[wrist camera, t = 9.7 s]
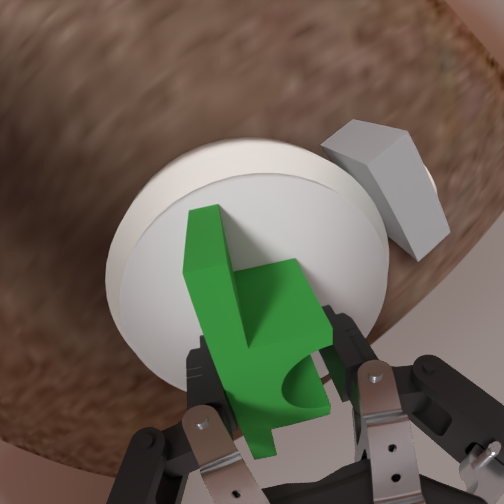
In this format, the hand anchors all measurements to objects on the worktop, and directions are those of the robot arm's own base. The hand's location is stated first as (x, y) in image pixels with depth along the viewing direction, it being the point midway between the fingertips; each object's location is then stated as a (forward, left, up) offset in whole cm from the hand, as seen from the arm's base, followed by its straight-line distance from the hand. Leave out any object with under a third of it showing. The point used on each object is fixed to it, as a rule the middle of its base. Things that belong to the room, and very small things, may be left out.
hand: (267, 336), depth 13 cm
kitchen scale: (+1, +1, -6) cm, 6 cm away
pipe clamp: (0, 0, -1) cm, 1 cm away
